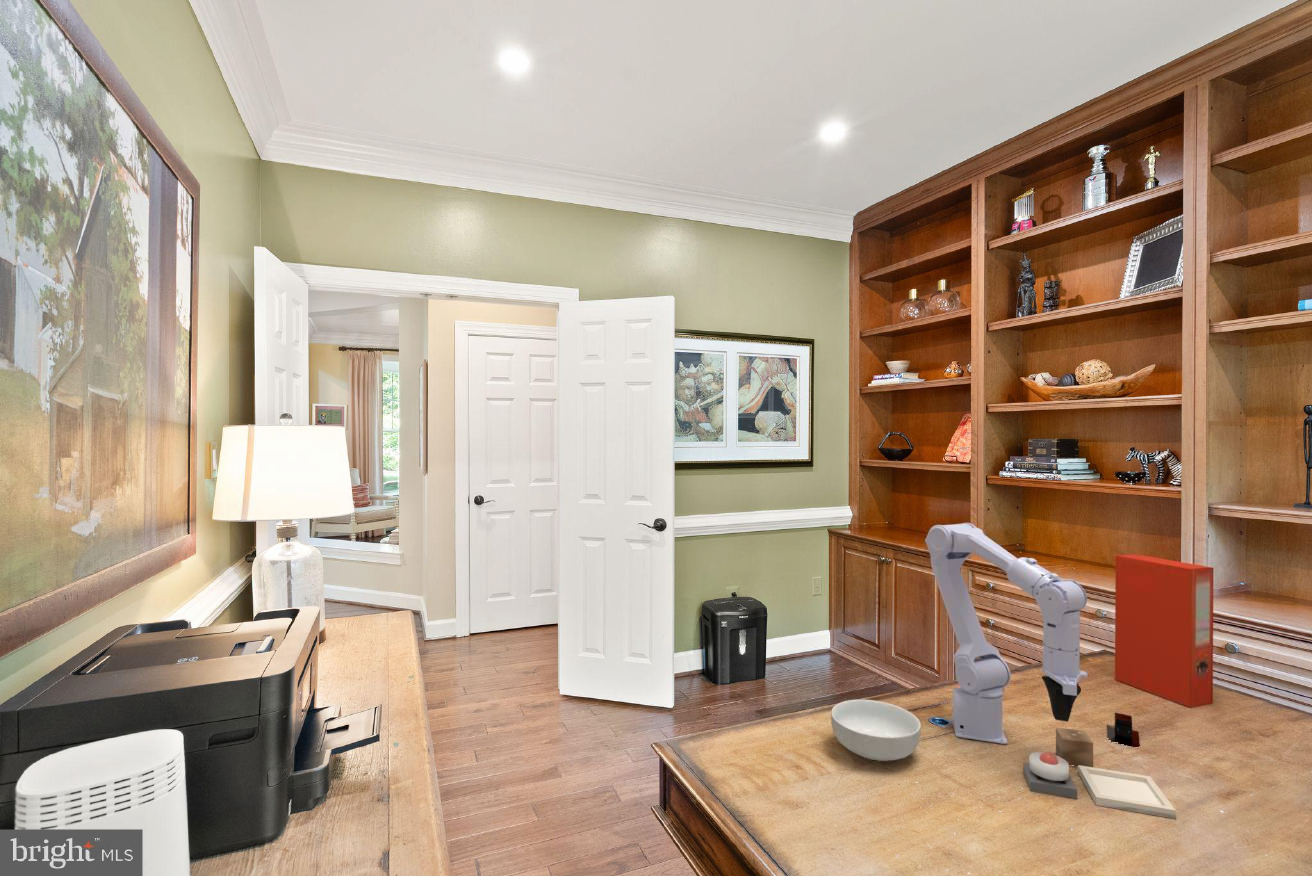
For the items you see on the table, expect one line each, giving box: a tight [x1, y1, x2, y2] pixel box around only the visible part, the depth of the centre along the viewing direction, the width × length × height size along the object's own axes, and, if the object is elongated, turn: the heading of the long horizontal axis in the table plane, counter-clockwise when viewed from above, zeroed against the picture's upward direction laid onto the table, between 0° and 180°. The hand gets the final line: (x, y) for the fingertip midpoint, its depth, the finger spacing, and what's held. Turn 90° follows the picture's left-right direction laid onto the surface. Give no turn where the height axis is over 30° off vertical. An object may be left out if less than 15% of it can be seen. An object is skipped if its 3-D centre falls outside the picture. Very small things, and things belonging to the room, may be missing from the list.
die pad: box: [1077, 765, 1177, 820], centre depth 109 cm, size 11×11×1 cm
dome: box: [1028, 751, 1070, 783], centre depth 113 cm, size 6×6×5 cm
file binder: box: [1114, 553, 1214, 708], centre depth 154 cm, size 8×17×32 cm, turn 17°
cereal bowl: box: [830, 699, 922, 762], centre depth 124 cm, size 17×17×7 cm
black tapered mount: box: [1106, 712, 1141, 748], centre depth 131 cm, size 12×7×5 cm, turn 145°
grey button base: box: [1022, 762, 1078, 800], centre depth 113 cm, size 7×7×2 cm
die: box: [1055, 726, 1094, 768], centre depth 121 cm, size 5×5×5 cm
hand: (1060, 719), depth 117 cm, fingers closed
